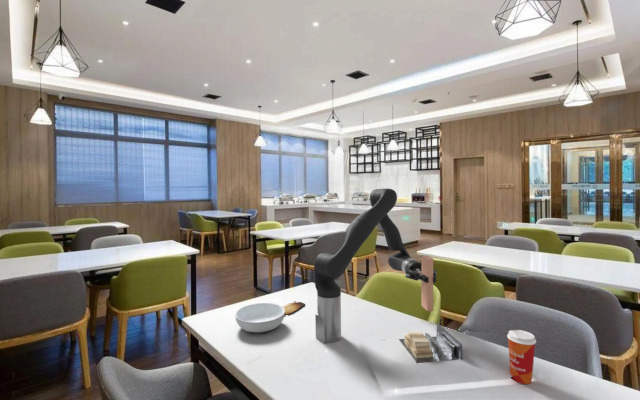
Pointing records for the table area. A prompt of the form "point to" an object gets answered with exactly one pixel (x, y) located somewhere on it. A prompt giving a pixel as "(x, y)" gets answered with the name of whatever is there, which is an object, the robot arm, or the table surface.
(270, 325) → the serving bowl
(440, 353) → the rack
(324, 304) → the robot arm
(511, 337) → the paper cup
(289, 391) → the table surface
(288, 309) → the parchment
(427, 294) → the pink rectangular bar
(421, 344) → the offcut stack
